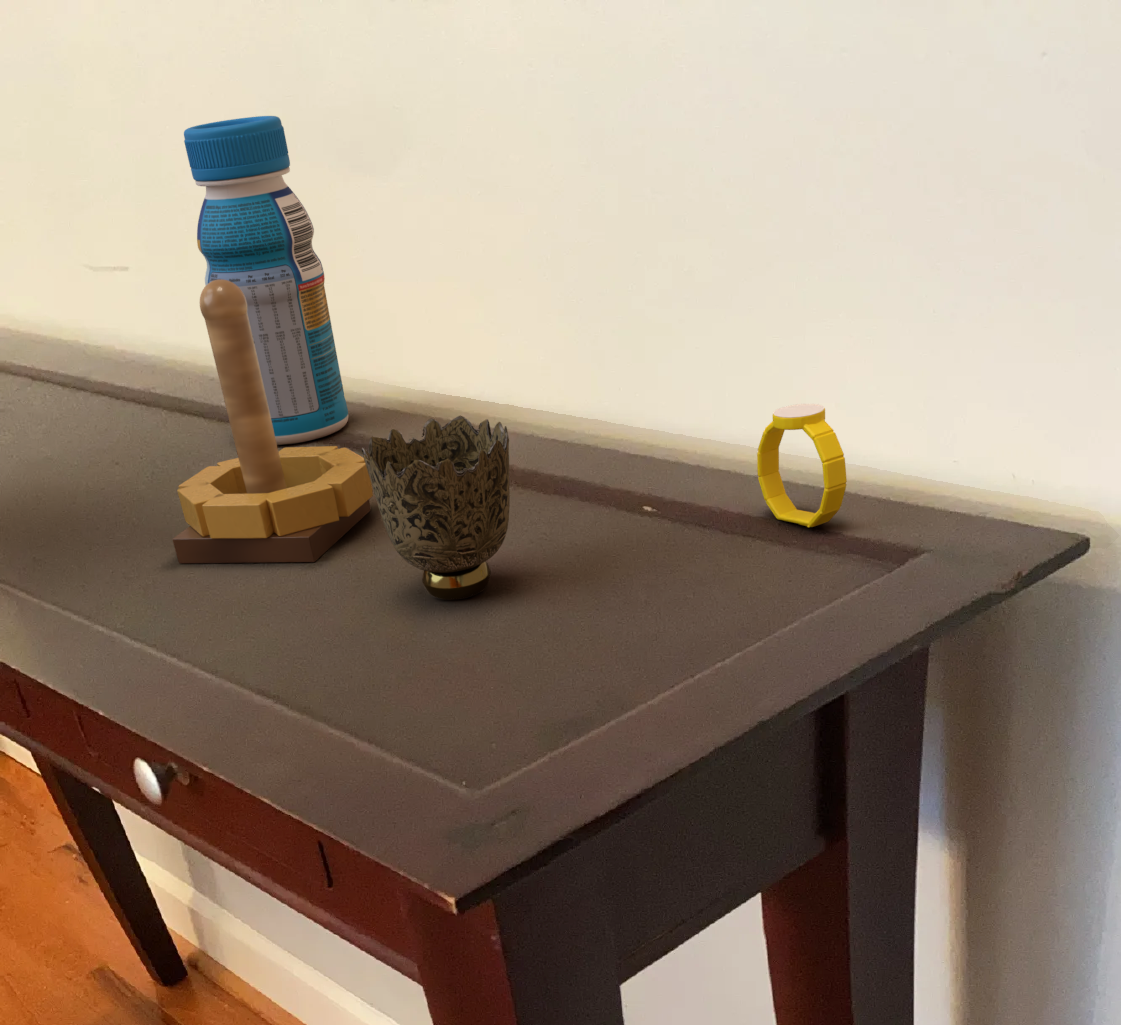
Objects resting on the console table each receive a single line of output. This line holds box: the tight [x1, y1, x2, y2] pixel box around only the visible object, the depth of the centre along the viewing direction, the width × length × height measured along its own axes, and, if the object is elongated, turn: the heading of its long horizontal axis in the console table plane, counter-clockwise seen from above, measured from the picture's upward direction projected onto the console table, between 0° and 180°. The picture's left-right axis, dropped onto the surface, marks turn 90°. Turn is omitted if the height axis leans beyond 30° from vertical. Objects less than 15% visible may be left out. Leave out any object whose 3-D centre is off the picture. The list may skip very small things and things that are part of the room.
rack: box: [172, 279, 372, 564], centre depth 80 cm, size 9×9×14 cm
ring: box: [177, 445, 374, 539], centre depth 83 cm, size 11×11×2 cm
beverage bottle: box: [183, 115, 350, 446], centre depth 98 cm, size 8×8×20 cm
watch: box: [756, 403, 848, 528], centre depth 74 cm, size 6×3×6 cm, turn 32°
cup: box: [361, 415, 511, 601], centre depth 71 cm, size 8×7×8 cm
